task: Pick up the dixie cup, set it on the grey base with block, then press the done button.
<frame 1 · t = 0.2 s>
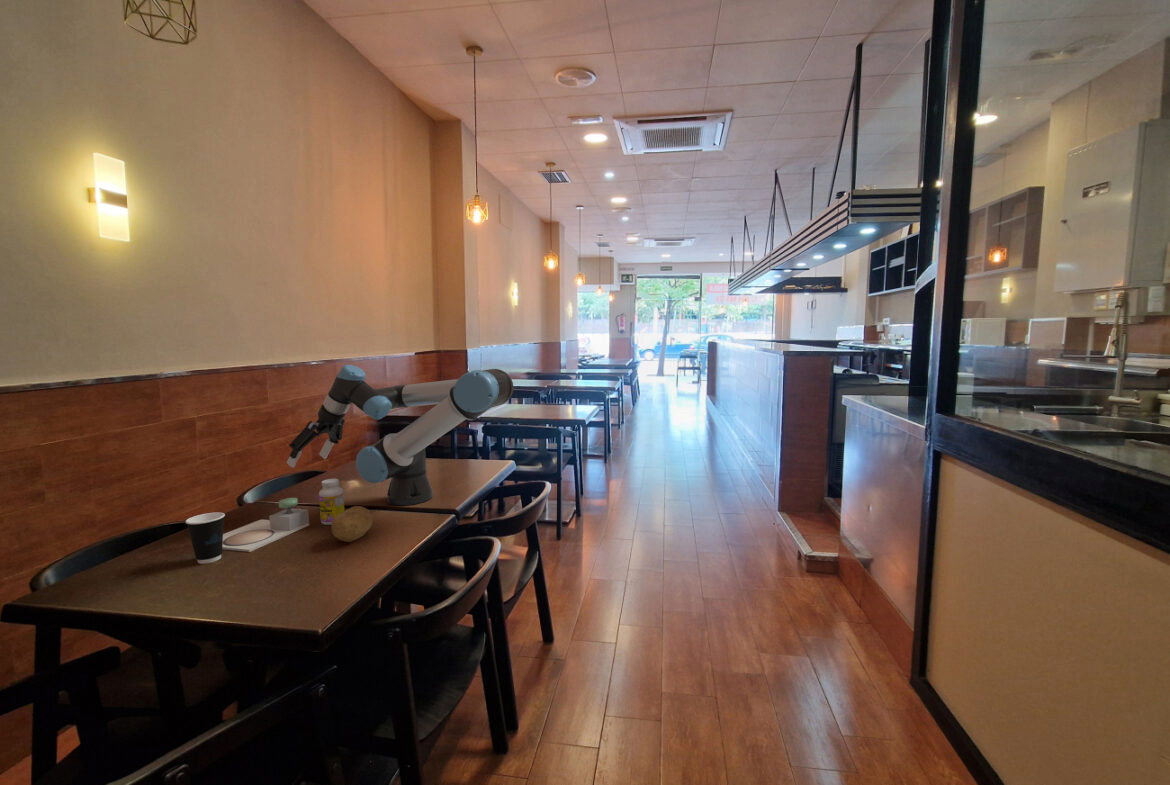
hand: (306, 460, 168), 16 cm above the table, tool tilted 35°, fingers open, 13 cm apart
grey base with block: (256, 535, 144), on the table
done button: (288, 510, 149), point 5 cm above the table, slide at 0.0 cm
potato: (352, 540, 139), on the table
dixie cup: (209, 560, 128), on the table
supplement bottle: (333, 522, 154), on the table
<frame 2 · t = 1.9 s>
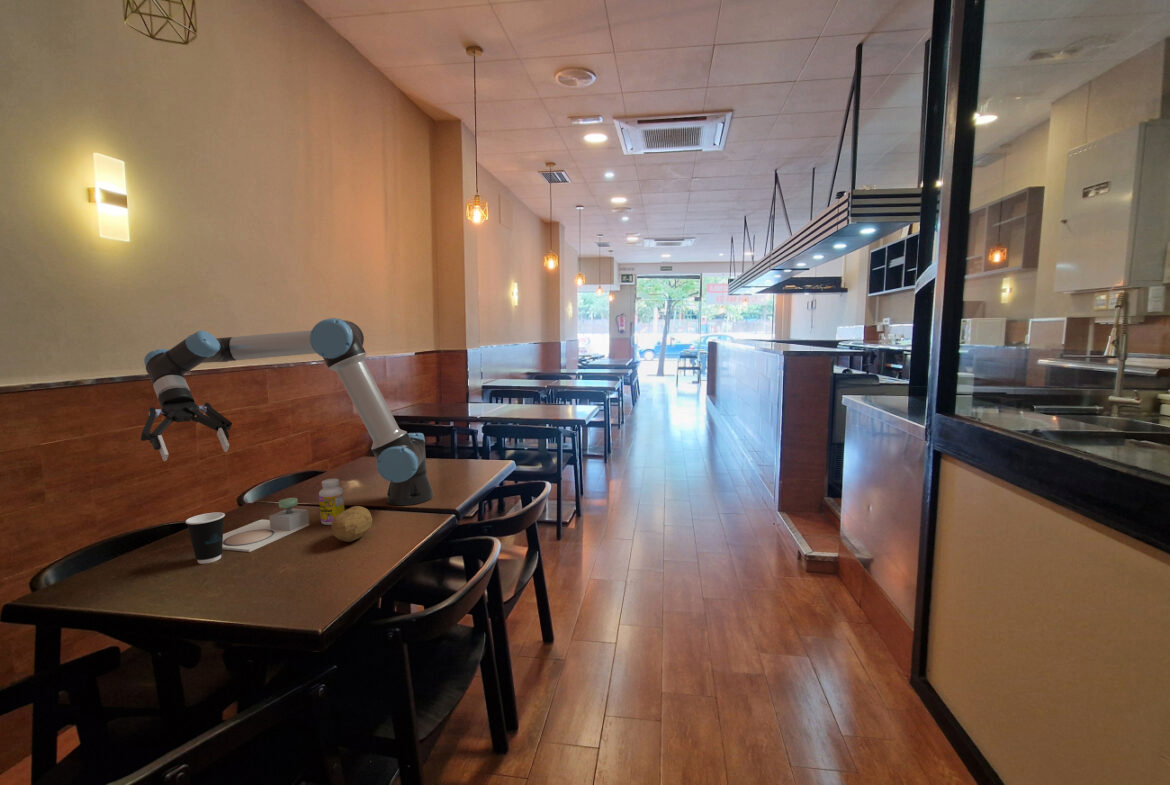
hand: (197, 453, 136), 25 cm above the table, tool tilted 45°, fingers open, 13 cm apart
nothing on the table moved.
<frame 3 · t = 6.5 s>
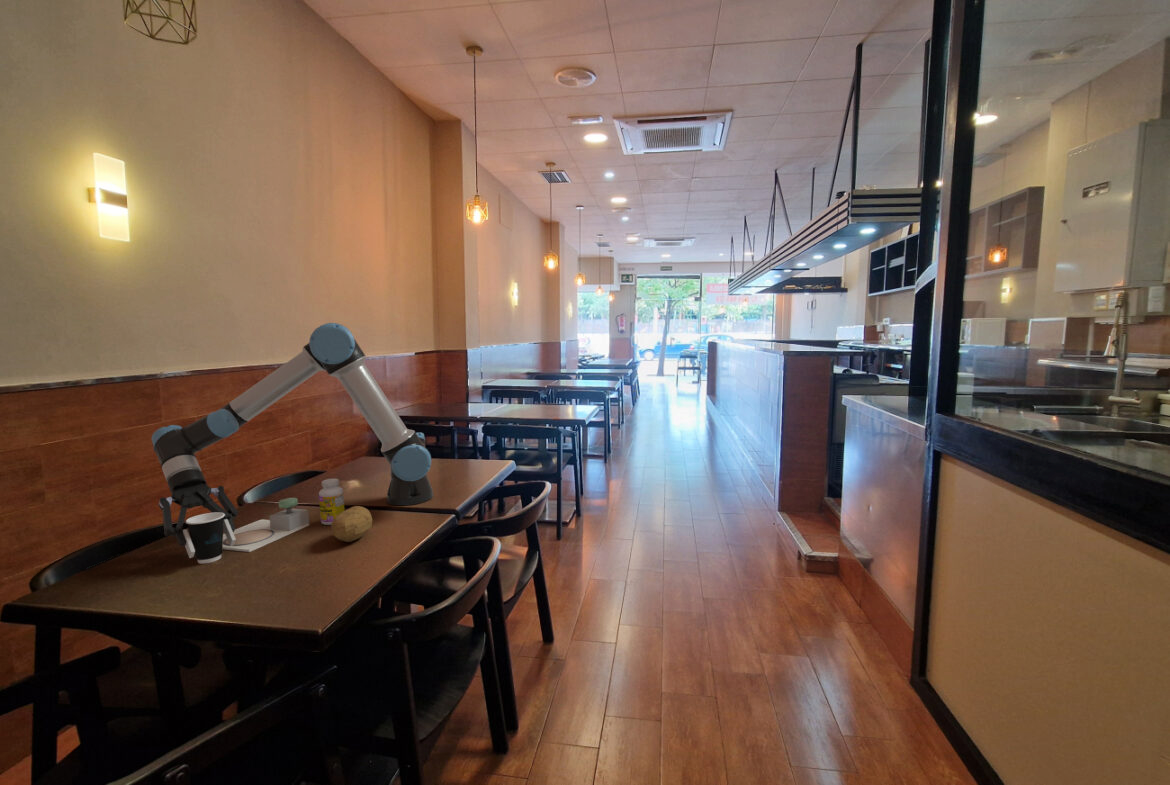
hand: (213, 548, 126), 4 cm above the table, tool tilted 45°, fingers closed on dixie cup, 8 cm apart
dixie cup: (209, 560, 128), on the table, touching gripper
everything else where it was.
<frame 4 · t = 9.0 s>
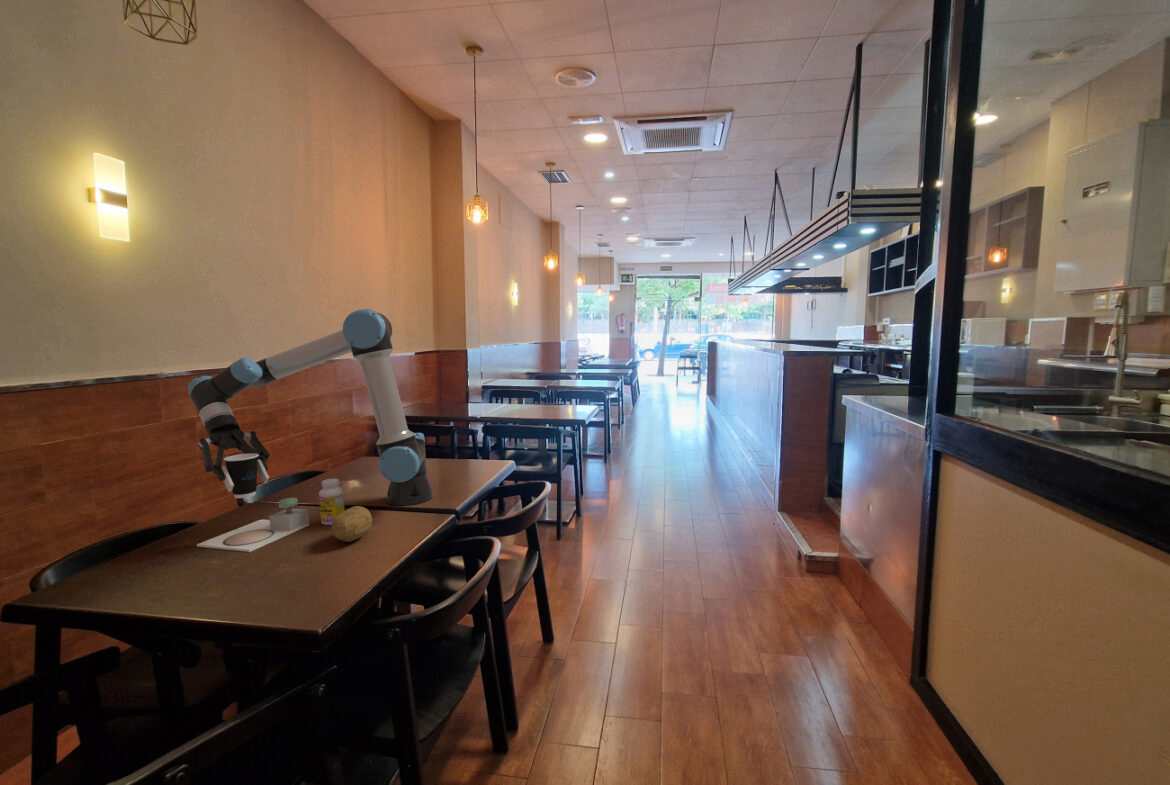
hand: (249, 484, 137), 16 cm above the table, tool tilted 45°, fingers closed on dixie cup, 8 cm apart
dixie cup: (245, 496, 140), point 12 cm above the table, touching gripper
everything else where it was.
when the fingers open (6 cm above the table, at t = 11.5 s): dixie cup drops 1 cm, resting on grey base with block.
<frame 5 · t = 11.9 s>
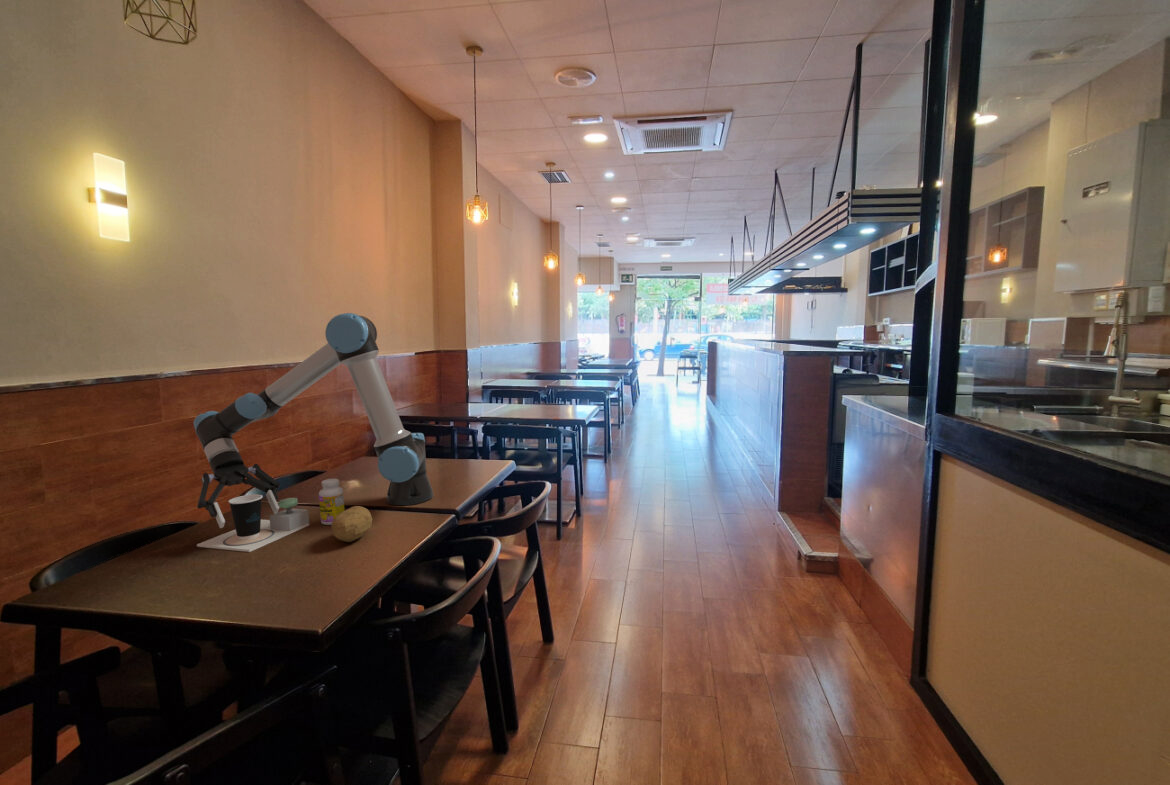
hand: (250, 517, 139), 7 cm above the table, tool tilted 45°, fingers open, 13 cm apart
dixie cup: (249, 537, 141), point 1 cm above the table, touching grey base with block
everything else where it was.
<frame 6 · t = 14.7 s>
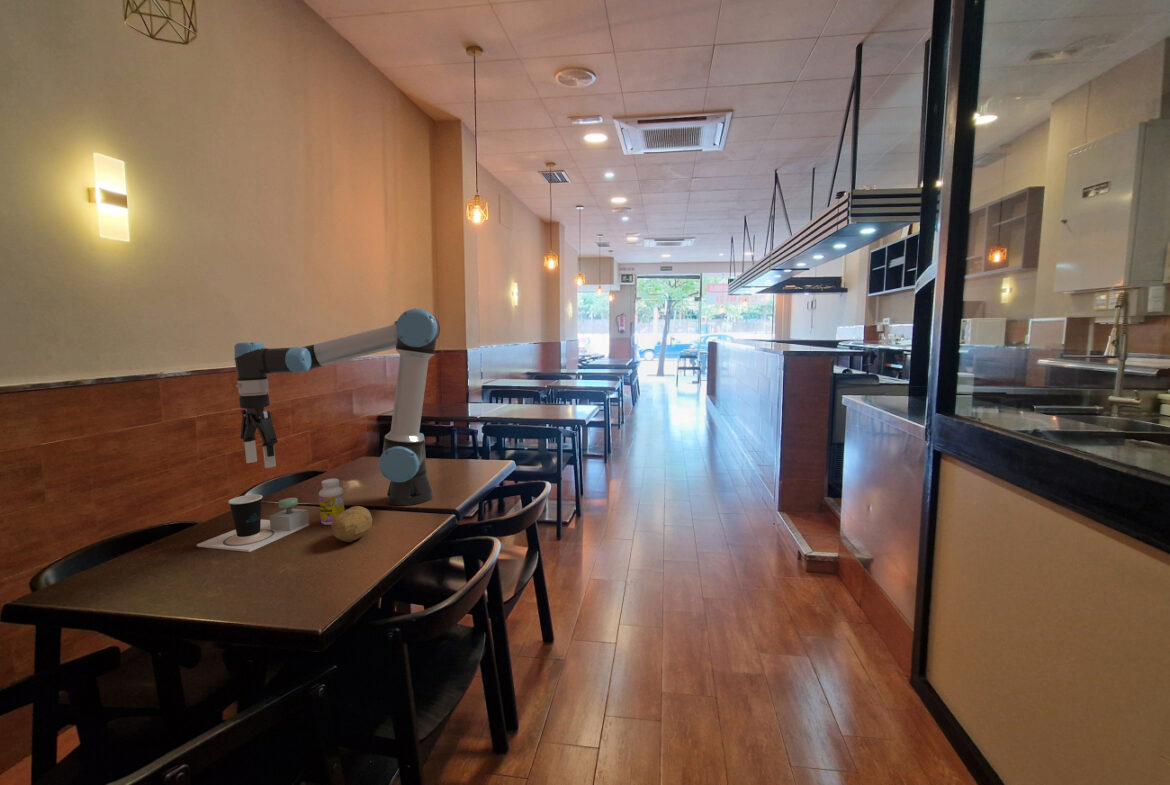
hand: (260, 464, 153), 18 cm above the table, tool pointing down, fingers open, 12 cm apart
nothing on the table moved.
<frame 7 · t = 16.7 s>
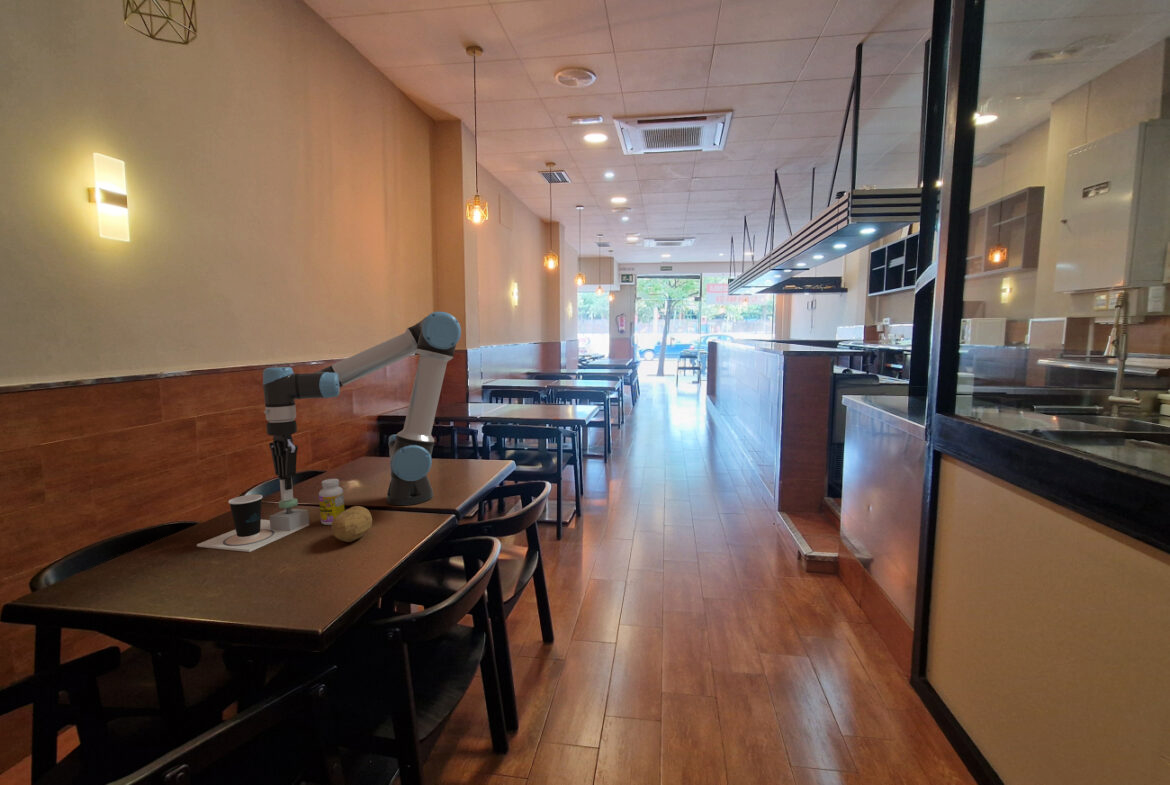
hand: (287, 499, 149), 9 cm above the table, tool pointing down, fingers closed
done button: (288, 510, 149), point 5 cm above the table, slide at 0.1 cm, touching gripper
everything else where it was.
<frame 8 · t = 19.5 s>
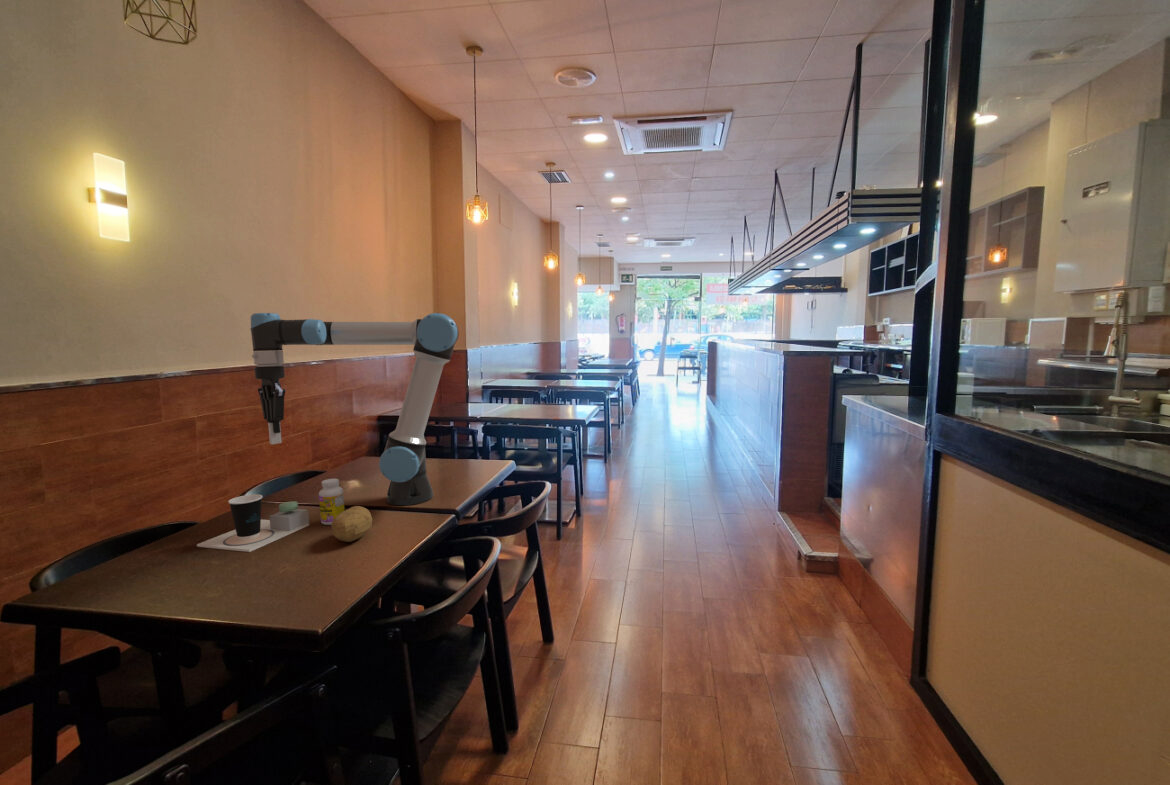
hand: (275, 443, 153), 24 cm above the table, tool pointing down, fingers closed
done button: (289, 513, 149), point 4 cm above the table, slide at 1.1 cm
everything else where it was.
at the end: dixie cup inside the target area (0.1 cm from its centre), point 0.5 cm above the table; dixie cup tilted 0°; done button slide at 1.1 cm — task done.
